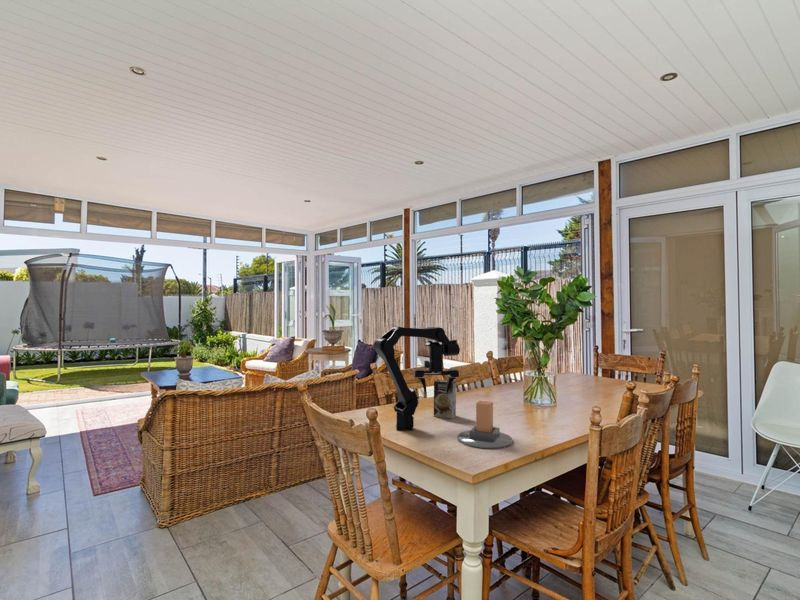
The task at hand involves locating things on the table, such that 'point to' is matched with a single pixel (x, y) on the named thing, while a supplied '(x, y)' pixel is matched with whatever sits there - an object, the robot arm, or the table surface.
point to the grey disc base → (485, 439)
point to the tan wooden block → (484, 416)
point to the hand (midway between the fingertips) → (436, 393)
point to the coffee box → (444, 399)
